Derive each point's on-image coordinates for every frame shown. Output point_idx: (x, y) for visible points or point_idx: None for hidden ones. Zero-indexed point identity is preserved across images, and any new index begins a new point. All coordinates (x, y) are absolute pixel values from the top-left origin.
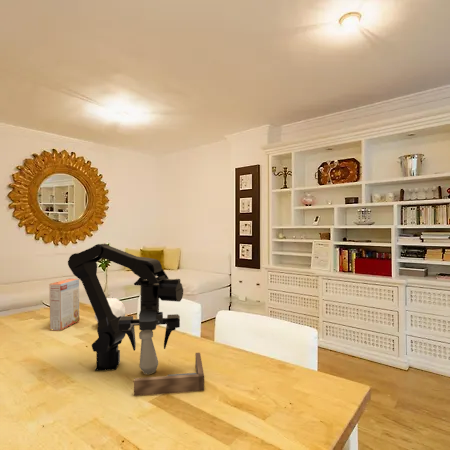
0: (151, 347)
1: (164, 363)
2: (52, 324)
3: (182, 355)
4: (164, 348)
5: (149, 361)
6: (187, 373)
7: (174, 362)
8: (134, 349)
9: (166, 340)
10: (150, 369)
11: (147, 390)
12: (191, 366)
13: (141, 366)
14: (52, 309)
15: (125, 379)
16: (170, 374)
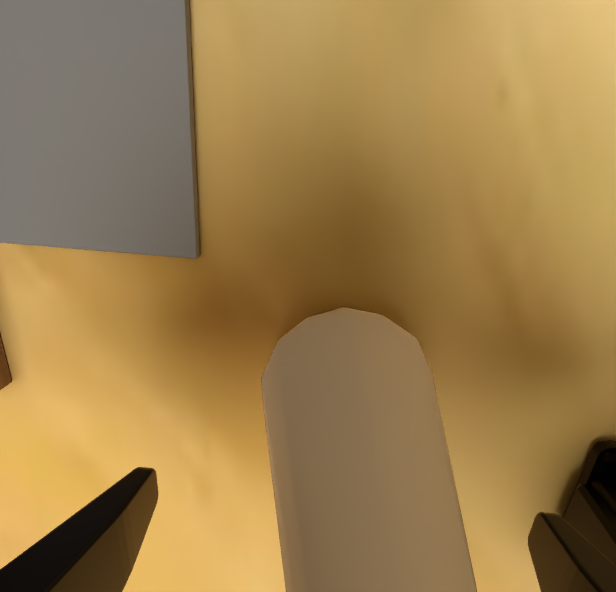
0: (311, 492)
1: (235, 453)
2: None
3: None
4: (142, 470)
5: (342, 347)
6: (36, 241)
7: (166, 451)
8: (555, 522)
9: (25, 566)
10: (333, 311)
11: None
12: (38, 367)
13: (418, 344)
14: None
15: (537, 272)
16: (172, 256)
